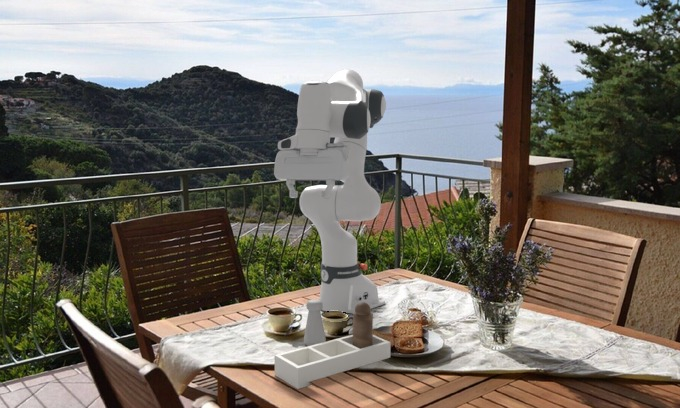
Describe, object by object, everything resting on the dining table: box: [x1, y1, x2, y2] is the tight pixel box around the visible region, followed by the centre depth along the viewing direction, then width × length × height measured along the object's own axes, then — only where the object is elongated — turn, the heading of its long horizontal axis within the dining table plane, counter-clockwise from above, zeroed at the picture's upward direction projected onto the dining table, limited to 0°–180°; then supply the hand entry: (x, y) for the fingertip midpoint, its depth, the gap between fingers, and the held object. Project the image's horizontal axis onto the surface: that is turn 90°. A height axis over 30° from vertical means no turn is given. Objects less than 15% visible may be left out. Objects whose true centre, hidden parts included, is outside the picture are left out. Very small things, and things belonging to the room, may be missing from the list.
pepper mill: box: [352, 302, 374, 349], centre depth 169 cm, size 5×5×14 cm
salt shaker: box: [303, 298, 327, 347], centre depth 178 cm, size 6×6×13 cm
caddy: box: [273, 334, 392, 390], centre depth 165 cm, size 28×10×5 cm, turn 127°
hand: (309, 198), depth 169 cm, fingers open, 8 cm apart
